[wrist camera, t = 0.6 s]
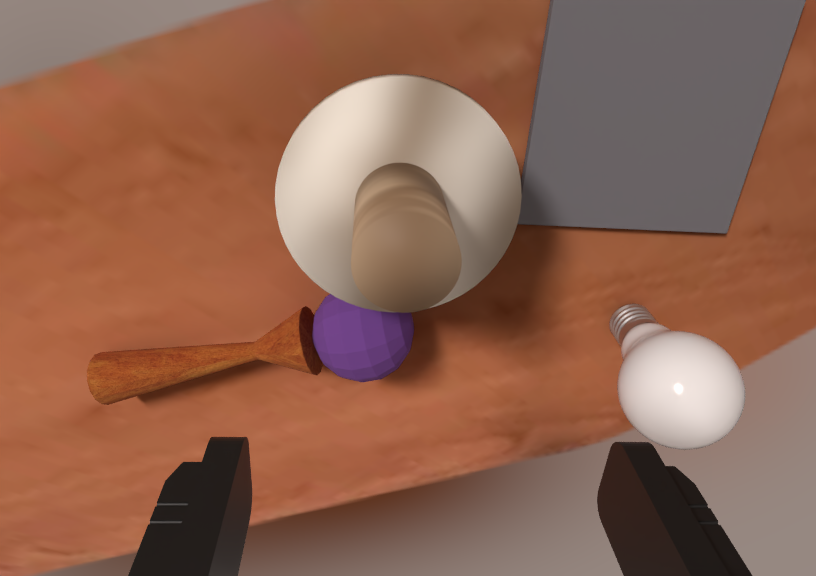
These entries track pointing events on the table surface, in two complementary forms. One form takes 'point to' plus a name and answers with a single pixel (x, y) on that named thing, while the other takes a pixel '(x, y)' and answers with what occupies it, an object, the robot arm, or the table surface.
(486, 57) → the table surface
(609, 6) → the mat
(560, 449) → the table surface
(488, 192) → the lid
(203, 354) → the kendama
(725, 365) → the lightbulb
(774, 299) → the table surface
